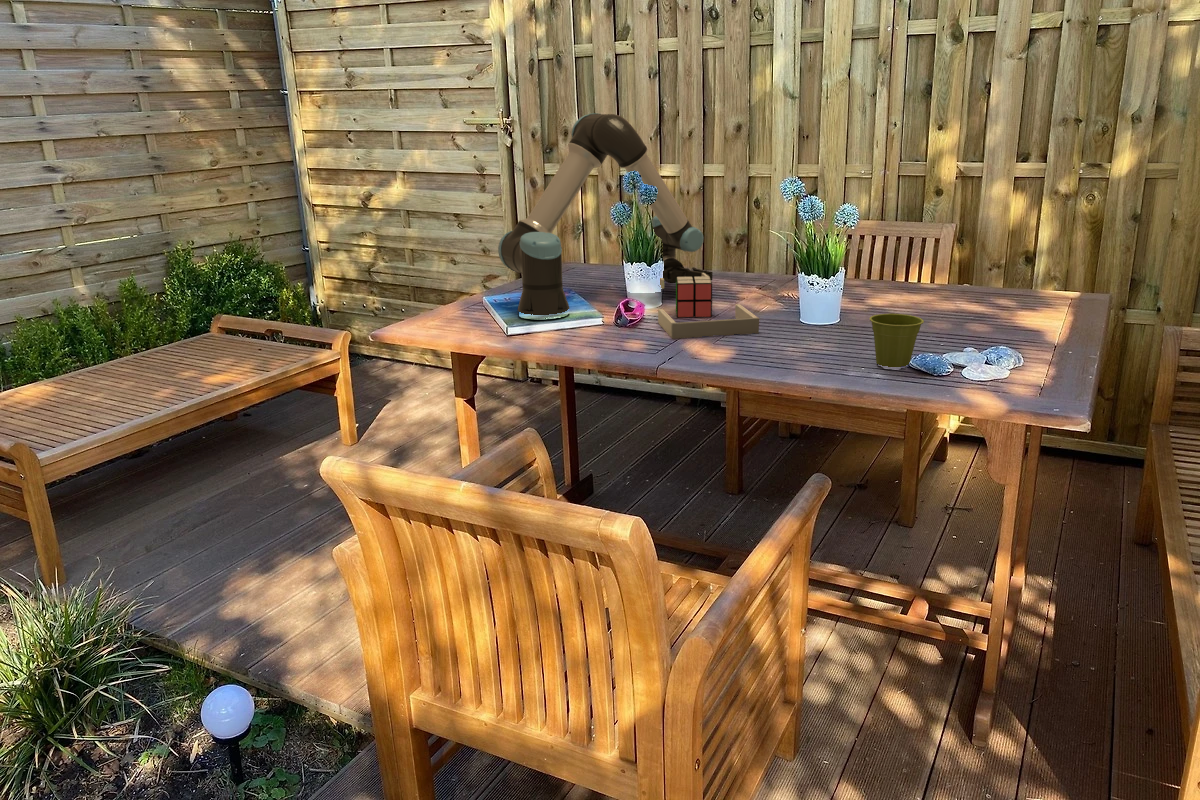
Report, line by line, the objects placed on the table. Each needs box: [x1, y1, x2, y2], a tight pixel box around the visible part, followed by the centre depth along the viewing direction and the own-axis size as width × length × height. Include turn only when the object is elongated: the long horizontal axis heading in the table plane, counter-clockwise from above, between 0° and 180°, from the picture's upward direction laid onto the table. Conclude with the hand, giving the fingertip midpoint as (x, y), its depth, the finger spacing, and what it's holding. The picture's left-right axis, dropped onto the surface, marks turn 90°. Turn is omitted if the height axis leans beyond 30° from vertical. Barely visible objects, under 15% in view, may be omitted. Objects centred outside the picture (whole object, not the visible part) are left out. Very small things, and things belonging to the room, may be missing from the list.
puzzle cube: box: [675, 276, 713, 319], centre depth 269 cm, size 10×10×10 cm
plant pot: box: [868, 313, 925, 367], centre depth 214 cm, size 12×12×11 cm
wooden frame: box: [657, 303, 760, 340], centre depth 253 cm, size 18×23×4 cm
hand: (685, 282), depth 274 cm, fingers open, 13 cm apart
